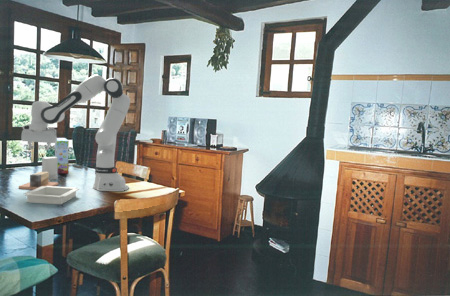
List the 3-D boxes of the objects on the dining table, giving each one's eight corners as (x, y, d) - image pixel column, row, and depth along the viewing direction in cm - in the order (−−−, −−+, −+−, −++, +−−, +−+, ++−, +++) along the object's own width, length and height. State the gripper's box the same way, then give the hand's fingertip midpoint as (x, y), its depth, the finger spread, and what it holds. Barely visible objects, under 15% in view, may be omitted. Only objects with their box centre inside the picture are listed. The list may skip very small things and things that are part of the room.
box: (48, 182, 206) (48, 172, 206) (38, 186, 194) (38, 175, 194) (40, 182, 206) (40, 171, 206) (29, 186, 194) (30, 174, 194)
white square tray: (80, 195, 187) (80, 187, 187) (63, 205, 166) (63, 197, 166) (43, 193, 187) (43, 185, 186) (21, 203, 165) (21, 194, 165)
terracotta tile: (58, 184, 209) (58, 182, 209) (45, 190, 193) (45, 187, 193) (33, 183, 208) (33, 180, 208) (18, 188, 192) (18, 186, 192)
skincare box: (53, 177, 228) (54, 156, 226) (57, 179, 223) (58, 157, 222) (41, 179, 221) (41, 156, 220) (45, 180, 217) (45, 158, 215)
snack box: (53, 168, 260) (54, 137, 257) (65, 168, 264) (66, 137, 262) (56, 173, 241) (56, 140, 239) (68, 173, 246) (69, 140, 244)
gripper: (59, 128, 199) (58, 149, 201) (26, 125, 199) (25, 147, 200) (53, 128, 193) (53, 150, 195) (19, 126, 192) (19, 148, 194)
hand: (39, 149), depth 197 cm, fingers open, 8 cm apart
